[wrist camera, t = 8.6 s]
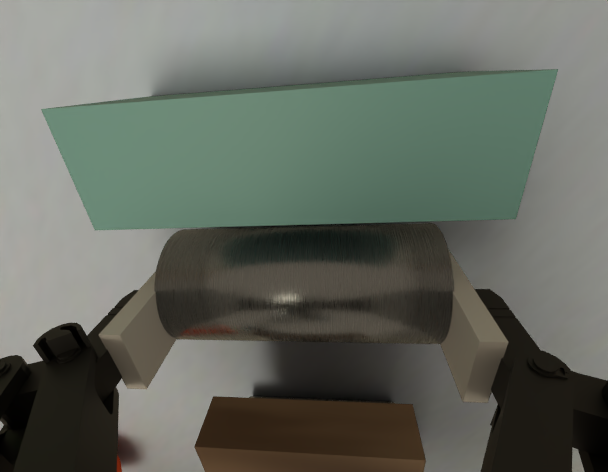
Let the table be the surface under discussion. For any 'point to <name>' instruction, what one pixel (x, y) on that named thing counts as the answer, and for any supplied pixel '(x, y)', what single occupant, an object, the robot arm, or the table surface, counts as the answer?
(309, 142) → the block
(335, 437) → the slab
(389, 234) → the roller
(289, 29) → the table surface
